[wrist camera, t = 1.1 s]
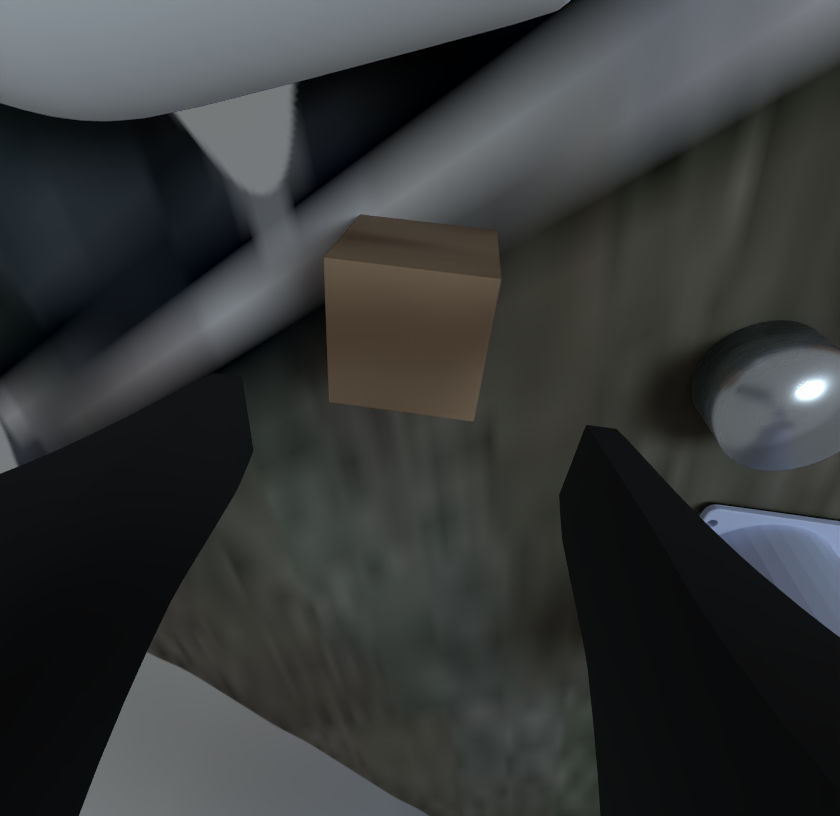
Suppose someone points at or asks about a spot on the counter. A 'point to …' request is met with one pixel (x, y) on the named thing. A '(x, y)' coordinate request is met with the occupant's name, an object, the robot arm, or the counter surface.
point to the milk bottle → (212, 47)
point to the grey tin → (771, 395)
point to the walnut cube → (410, 315)
